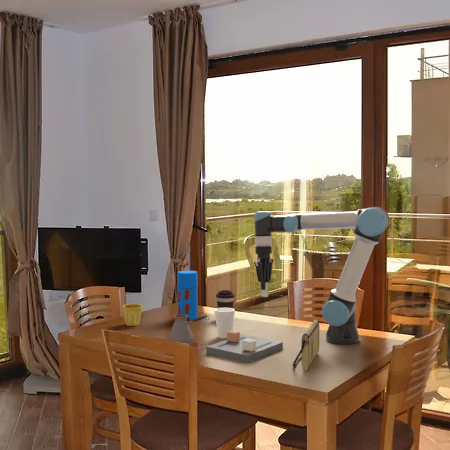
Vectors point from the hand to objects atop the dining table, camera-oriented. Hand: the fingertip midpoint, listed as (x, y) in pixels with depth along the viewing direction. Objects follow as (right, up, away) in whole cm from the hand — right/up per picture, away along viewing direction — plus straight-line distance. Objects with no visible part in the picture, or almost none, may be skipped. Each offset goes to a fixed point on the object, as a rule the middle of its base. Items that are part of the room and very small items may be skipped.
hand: (264, 296), depth 282 cm
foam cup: (-18, -20, +9) cm, 29 cm away
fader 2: (-8, -19, -25) cm, 33 cm away
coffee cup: (-18, -18, +47) cm, 53 cm away
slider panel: (-10, -22, -16) cm, 28 cm away
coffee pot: (-34, -22, -7) cm, 41 cm away
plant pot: (-66, -19, +34) cm, 76 cm away
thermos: (-38, -18, +48) cm, 64 cm away
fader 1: (-15, -18, -11) cm, 26 cm away
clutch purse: (+15, -23, -31) cm, 42 cm away
